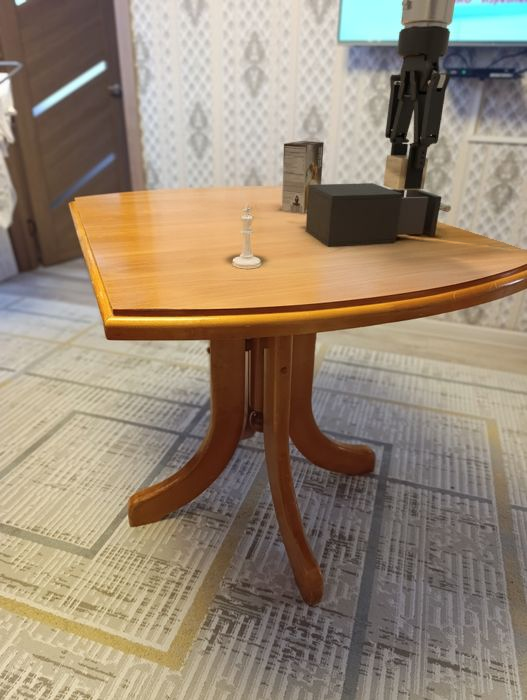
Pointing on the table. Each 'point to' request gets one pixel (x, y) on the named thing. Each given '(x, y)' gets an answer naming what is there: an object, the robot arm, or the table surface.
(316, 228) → the cabinet
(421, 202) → the drawer
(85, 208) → the table surface
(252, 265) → the chess piece
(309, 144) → the coffee box
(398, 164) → the block
